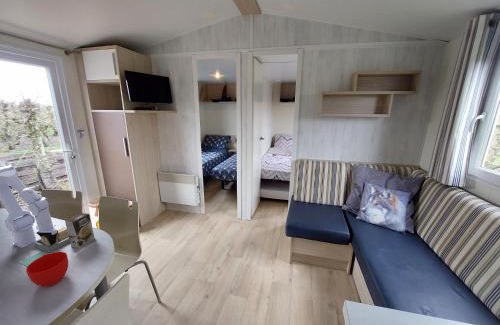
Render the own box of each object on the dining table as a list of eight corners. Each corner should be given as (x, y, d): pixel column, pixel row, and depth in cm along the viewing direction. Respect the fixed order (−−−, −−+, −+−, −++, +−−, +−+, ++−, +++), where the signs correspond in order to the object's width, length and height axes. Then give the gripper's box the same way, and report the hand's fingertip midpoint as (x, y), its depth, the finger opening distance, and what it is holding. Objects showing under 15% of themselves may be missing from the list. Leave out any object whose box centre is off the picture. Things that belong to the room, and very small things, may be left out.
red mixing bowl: (66, 261, 105) (61, 244, 102) (75, 279, 94) (70, 260, 92) (29, 277, 95) (23, 259, 93) (35, 298, 85) (28, 278, 82)
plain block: (56, 240, 121) (53, 230, 119) (65, 235, 125) (63, 226, 124) (61, 241, 119) (58, 232, 118) (70, 237, 124) (68, 228, 122)
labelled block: (43, 246, 116) (40, 236, 114) (53, 241, 120) (50, 232, 118) (48, 248, 114) (45, 238, 112) (58, 243, 118) (55, 233, 117)
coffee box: (80, 248, 114) (73, 222, 110) (70, 247, 116) (63, 220, 111) (95, 238, 123) (89, 213, 119) (86, 237, 124) (80, 212, 120)
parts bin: (34, 247, 116) (33, 242, 115) (63, 233, 128) (62, 228, 128) (50, 253, 111) (48, 248, 110) (79, 237, 124) (78, 233, 123)
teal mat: (18, 263, 104) (18, 262, 104) (41, 251, 112) (41, 251, 112) (29, 268, 101) (29, 267, 101) (52, 256, 109) (51, 255, 109)
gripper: (61, 219, 114) (67, 241, 118) (44, 214, 119) (51, 235, 123) (45, 226, 108) (51, 249, 111) (28, 221, 113) (35, 243, 116)
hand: (50, 242), depth 116 cm, fingers closed on labelled block, 5 cm apart
